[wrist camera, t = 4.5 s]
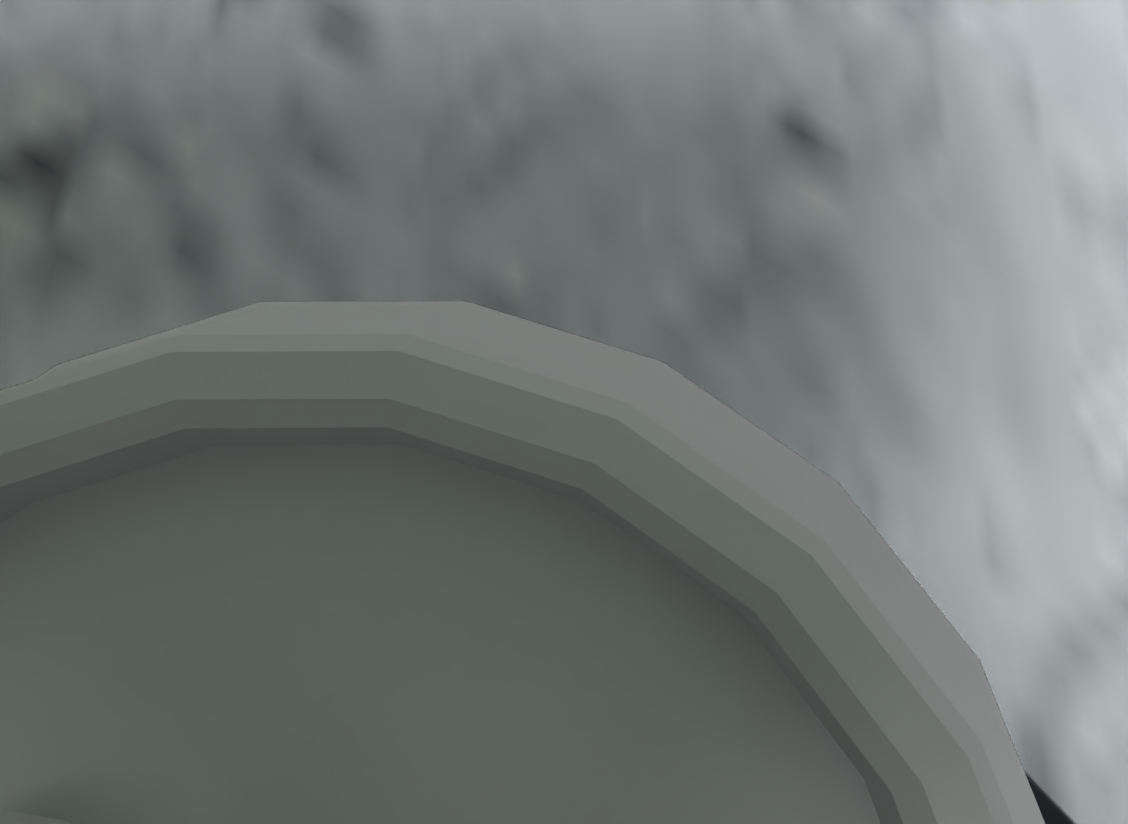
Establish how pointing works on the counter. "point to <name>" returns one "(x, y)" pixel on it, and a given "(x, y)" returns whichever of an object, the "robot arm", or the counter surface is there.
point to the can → (454, 594)
